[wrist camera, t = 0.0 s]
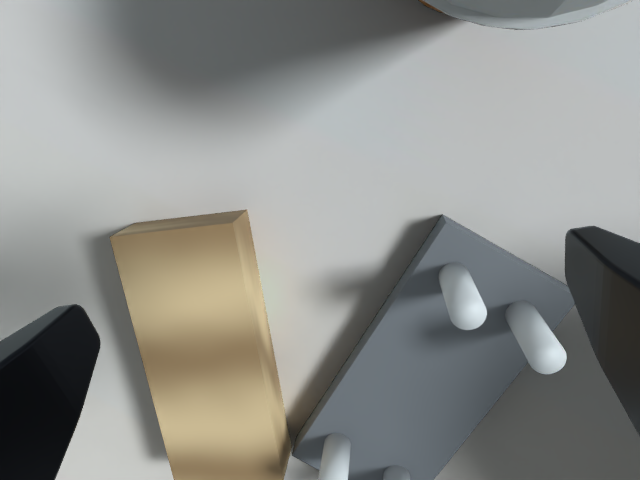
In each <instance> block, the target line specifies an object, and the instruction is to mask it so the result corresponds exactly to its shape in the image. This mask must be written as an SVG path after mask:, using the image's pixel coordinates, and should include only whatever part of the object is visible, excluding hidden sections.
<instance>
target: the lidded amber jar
mask: <svg viewBox="0 0 640 480" xmlns="http://www.w3.org/2000/svg"><path fill="white" fill-rule="evenodd" d="M418 1H420V2H421V3H422V4H424V5H425V6H427V7H429V8H432V9H434V10H436V11H438V12H441V13H445V14H447V15H449V16H452V17H455V18H459V19H462V20H465V21H469V22H472V23H476V24H479V25H483V26H489V27H497V28H506V29H515V30H523V29H540V28H547V27H554V26H560V25H565V24H570V23H575V22H580V21H583V20H586V19H588V18H591V17H594V16H596V15H599V14H601V13H604V12H607V11H609V10H612V9H614V8H617V7H620V6H622V5H625V4H627V3H629V2H631V1H632V0H418Z"/></svg>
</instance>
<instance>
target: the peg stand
mask: <svg viewBox="0 0 640 480" xmlns="http://www.w3.org/2000/svg"><path fill="white" fill-rule="evenodd" d="M574 304H575V302H574V300H573V297H572V295H571V292H570V290H569V287H568V286H567V285H565V284H564V283H562V282H560V281H558V280H556V279H555V278H553V277H551V276H549V275H548V274H546V273H544V272H542V271H541V270H539V269H537V268H535V267H534V266H532V265H530V264H528V263H527V262H525V261H523V260H521V259H520V258H518V257H516V256H514V255H513V254H511V253H509V252H507V251H506V250H504V249H502V248H500V247H499V246H497V245H495V244H493V243H492V242H490V241H488V240H486V239H485V238H483V237H481V236H479V235H478V234H476V233H474V232H472V231H471V230H469V229H467V228H465V227H464V226H462V225H460V224H458V223H457V222H455V221H453V220H451V219H450V218H448V217H446V216H444V215H443V214H442V216H441V217H440V219H439V220H438V222H437V223H436V225H435V227H434V228H433V230H432V231H431V233H430V234H429V236H428V237H427V239H426V240H425V242H424V243H423V245H422V246H421V248H420V249H419V251H418V252H417V254H416V255H415V257H414V259H413V260H412V262H411V263H410V265H409V266H408V268H407V269H406V271H405V272H404V274H403V275H402V277H401V278H400V280H399V281H398V283H397V284H396V286H395V287H394V289H393V291H392V292H391V294H390V295H389V297H388V298H387V300H386V301H385V303H384V304H383V306H382V307H381V309H380V310H379V312H378V313H377V315H376V316H375V318H374V319H373V321H372V322H371V324H370V326H369V327H368V329H367V330H366V332H365V333H364V335H363V336H362V338H361V339H360V341H359V342H358V344H357V345H356V347H355V348H354V350H353V351H352V353H351V354H350V356H349V358H348V359H347V361H346V362H345V364H344V365H343V367H342V368H341V370H340V371H339V373H338V374H337V376H336V377H335V379H334V380H333V382H332V383H331V385H330V386H329V388H328V390H327V391H326V393H325V394H324V396H323V397H322V399H321V400H320V402H319V403H318V405H317V406H316V408H315V409H314V411H313V412H312V414H311V415H310V417H309V418H308V420H307V422H306V423H305V425H304V426H303V428H302V429H301V431H300V432H299V434H298V435H297V437H296V440H295V444H294V448H293V453H292V456H294V457H296V458H298V459H299V460H301V461H303V462H305V463H307V464H309V465H311V466H312V467H314V468H316V469H318V470H320V472H319V478H318V480H434V479H435V477H436V476H437V475H438V474H439V472H440V471H441V470H442V469H443V467H444V466H445V465H446V464H447V463H448V461H449V460H450V459H451V458H452V456H453V455H454V454H455V453H456V451H457V450H458V449H459V448H460V446H461V445H462V444H463V443H464V441H465V440H466V439H467V438H468V436H469V435H470V434H471V433H472V431H473V430H474V429H475V428H476V426H477V425H478V424H479V423H480V421H481V420H482V419H483V418H484V416H485V415H486V414H487V413H488V411H489V410H490V409H491V408H492V406H493V405H494V404H495V403H496V401H497V400H498V399H499V398H500V396H501V395H502V394H503V393H504V392H505V390H506V389H507V388H508V387H509V385H510V384H511V383H512V382H513V380H514V379H515V378H516V377H517V375H518V374H519V373H520V372H521V370H522V369H523V368H524V367H525V365H526V364H527V363H528V362H529V364H530V366H531V367H532V368H533V369H534V370H535V371H536V372H538V373H541V374H552V373H555V372H557V371H559V370H560V369H562V368H563V366H564V365H565V363H566V360H567V355H566V352H565V350H564V348H563V347H562V346H561V344H560V343H559V341H558V340H557V338H556V337H555V335H554V334H553V333H552V332H553V330H554V329H555V328H556V327H557V325H558V324H559V323H560V322H561V321H562V319H563V318H564V317H565V316H566V314H567V313H568V312H569V311H570V309H571V308H572V307H573V306H574Z"/></svg>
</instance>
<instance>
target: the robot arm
mask: <svg viewBox="0 0 640 480" xmlns="http://www.w3.org/2000/svg"><path fill="white" fill-rule="evenodd" d="M565 277H566V281H567V285H568V287H569V290H570V292H571V295H572V297H573V300H574V302H575V305H576V307H577V310H578V312H579V315H580V317H581V320H582V322H583V325H584V327H585V330H586V332H587V335H588V338H589V340H590V343H591V345H592V348H593V350H594V352H595V355H596V357H597V359H598V361H599V363H600V365H601V367H602V369H603V371H604V373H605V375H606V376H607V378H608V380H609V382H610V384H611V385H612V387H613V389H614V391H615V393H616V394H617V396H618V398H619V400H620V402H621V403H622V405H623V407H624V409H625V411H626V412H627V414H628V416H629V418H630V420H631V422H632V423H633V425H634V427H635V429H636V431H637V432H638V434H639V436H640V243H637V242H635V241H632V240H630V239H627V238H625V237H622V236H619V235H617V234H614V233H612V232H609V231H606V230H604V229H601V228H599V227H596V226H587V227H581V228H574V229H570V230H569V231H568V232H567V234H566V239H565ZM99 350H100V338H99V335H98V333H97V331H96V329H95V328H94V326H93V324H92V322H91V321H90V319H89V317H88V315H87V314H86V312H85V310H84V309H83V308H82V307H81V306H80V305H77V304H73V305H66V306H60V307H57V308H55V309H53V310H51V311H50V312H48V313H46V314H45V315H43V316H42V317H40V318H38V319H37V320H35V321H33V322H32V323H30V324H28V325H27V326H25V327H23V328H22V329H20V330H18V331H17V332H15V333H13V334H12V335H10V336H9V337H7V338H5V339H4V340H2V341H0V480H55V478H56V476H57V473H58V471H59V468H60V466H61V463H62V461H63V458H64V456H65V453H66V451H67V448H68V446H69V443H70V441H71V438H72V436H73V433H74V431H75V428H76V426H77V423H78V420H79V418H80V414H81V411H82V408H83V405H84V402H85V398H86V395H87V391H88V388H89V384H90V381H91V377H92V374H93V370H94V367H95V364H96V360H97V357H98V353H99Z"/></svg>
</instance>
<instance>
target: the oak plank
mask: <svg viewBox="0 0 640 480" xmlns="http://www.w3.org/2000/svg"><path fill="white" fill-rule="evenodd" d="M110 241H111V244H112V248H113V252H114V256H115V260H116V263H117V267H118V271H119V275H120V278H121V282H122V286H123V290H124V293H125V297H126V301H127V305H128V308H129V312H130V316H131V320H132V324H133V327H134V331H135V335H136V339H137V342H138V346H139V350H140V354H141V357H142V361H143V365H144V369H145V373H146V376H147V380H148V384H149V388H150V391H151V395H152V399H153V403H154V406H155V410H156V414H157V418H158V422H159V425H160V429H161V433H162V437H163V440H164V444H165V448H166V452H167V455H168V459H169V463H170V467H171V471H172V474H173V478H174V480H284V476H285V472H286V468H287V463H288V459H289V455H290V451H291V441H290V436H289V431H288V425H287V420H286V415H285V409H284V404H283V399H282V393H281V388H280V383H279V377H278V372H277V367H276V361H275V356H274V351H273V345H272V340H271V335H270V329H269V324H268V319H267V313H266V308H265V303H264V297H263V292H262V286H261V281H260V276H259V270H258V265H257V260H256V254H255V249H254V244H253V238H252V233H251V228H250V222H249V217H248V212H247V210H240V211H232V212H224V213H215V214H207V215H198V216H190V217H181V218H173V219H164V220H156V221H147V222H139V223H134V224H132V225H130V226H129V227H127V228H125V229H123V230H121V231H119V232H118V233H116V234H114V235H112V236H110Z"/></svg>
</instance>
